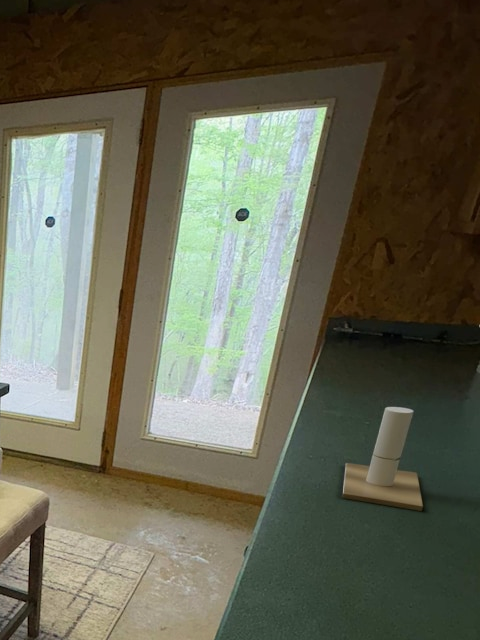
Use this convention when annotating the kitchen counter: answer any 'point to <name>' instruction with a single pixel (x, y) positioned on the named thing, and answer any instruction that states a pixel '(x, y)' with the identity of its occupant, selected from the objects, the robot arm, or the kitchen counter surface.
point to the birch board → (382, 488)
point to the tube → (389, 446)
